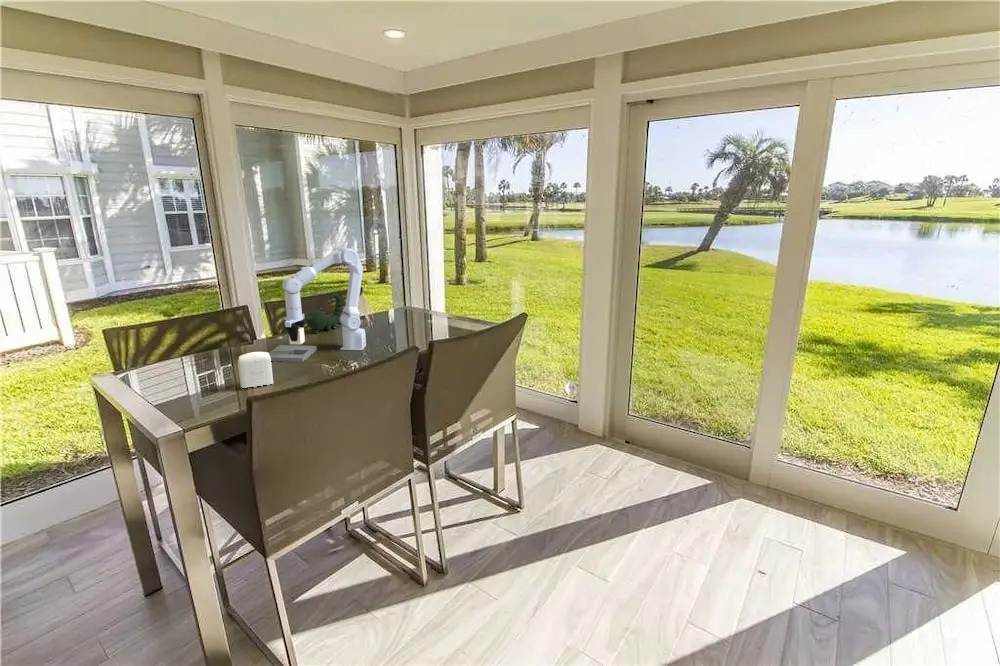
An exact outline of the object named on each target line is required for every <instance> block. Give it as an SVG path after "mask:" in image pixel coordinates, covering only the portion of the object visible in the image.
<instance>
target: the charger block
mask: <svg viewBox="0 0 1000 666" xmlns="http://www.w3.org/2000/svg"><path fill="white" fill-rule="evenodd" d="M288 336H289V335H288ZM305 337H306V336H305V327H304V328H300V327H299V329H298V339H297V341H291V339H290V336H289V337H288V339H289V345H303V343H305V342H306V338H305Z"/></svg>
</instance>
